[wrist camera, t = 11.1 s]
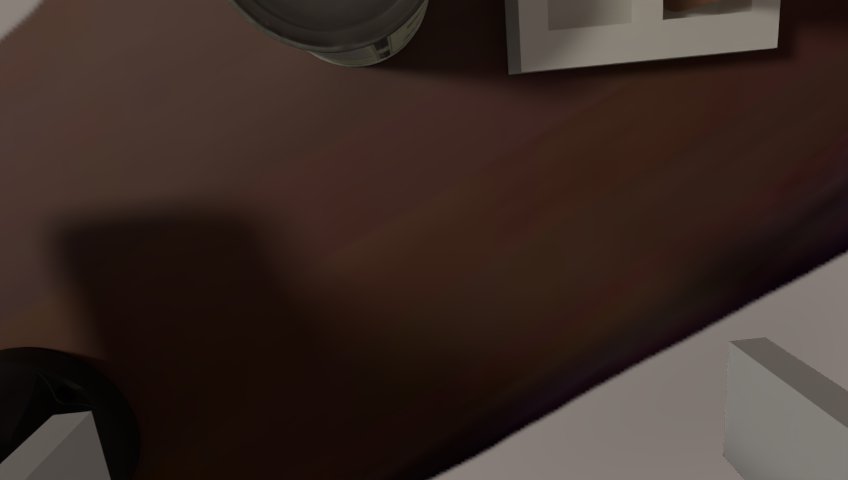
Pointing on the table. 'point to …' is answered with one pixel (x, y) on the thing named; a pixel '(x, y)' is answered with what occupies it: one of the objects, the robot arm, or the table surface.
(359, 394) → the table surface
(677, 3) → the pin
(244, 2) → the coffee can
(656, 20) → the bore block
